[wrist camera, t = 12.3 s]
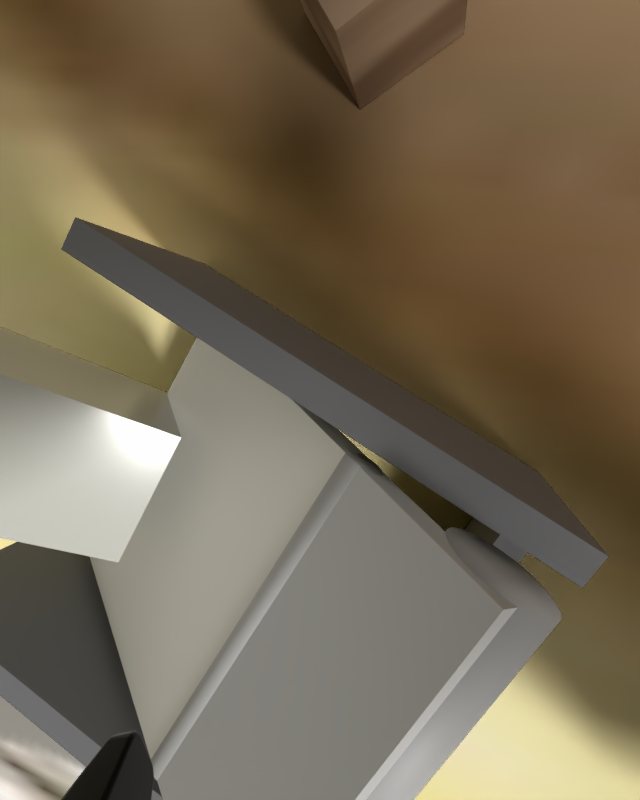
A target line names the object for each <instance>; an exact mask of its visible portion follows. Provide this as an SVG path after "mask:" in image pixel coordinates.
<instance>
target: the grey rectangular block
mask: <svg viewBox="0 0 640 800" xmlns="http://www.w3.org/2000/svg"><path fill="white" fill-rule="evenodd" d="M180 439H181V435H180V432H179V429H178V426H177V423H176V420H175V417H174V414H173V411H172V408H171V405H170V402H169V399H168V396H167V393H166V392H165V391H163V390H160V389H158V388H155V387H153V386H150V385H147V384H145V383H142V382H140V381H137V380H135V379H132V378H130V377H127V376H125V375H122V374H119V373H117V372H114V371H112V370H109V369H107V368H104V367H102V366H99V365H96V364H94V363H91V362H89V361H86V360H84V359H81V358H79V357H76V356H74V355H71V354H68V353H66V352H63V351H61V350H58V349H56V348H53V347H51V346H48V345H45V344H43V343H40V342H38V341H35V340H33V339H30V338H28V337H25V336H22V335H20V334H17V333H15V332H12V331H10V330H7V329H5V328H2V327H0V538H2V539H7V540H12V541H17V542H22V543H27V544H31V545H36V546H41V547H46V548H51V549H56V550H61V551H65V552H70V553H75V554H80V555H85V556H90V557H94V558H99V559H104V560H109V561H114V562H119V560H120V558H121V556H122V554H123V552H124V550H125V548H126V546H127V544H128V542H129V540H130V538H131V536H132V534H133V532H134V530H135V528H136V527H137V525H138V523H139V521H140V519H141V517H142V515H143V513H144V511H145V509H146V507H147V505H148V503H149V501H150V499H151V497H152V495H153V493H154V491H155V489H156V487H157V485H158V483H159V481H160V479H161V477H162V475H163V473H164V471H165V469H166V467H167V465H168V463H169V461H170V459H171V457H172V455H173V453H174V451H175V449H176V447H177V445H178V443H179V441H180Z"/></svg>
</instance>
